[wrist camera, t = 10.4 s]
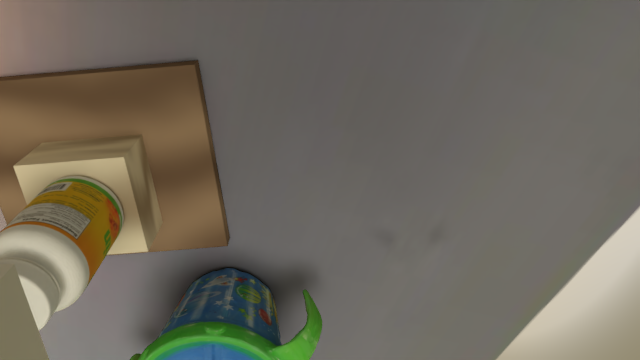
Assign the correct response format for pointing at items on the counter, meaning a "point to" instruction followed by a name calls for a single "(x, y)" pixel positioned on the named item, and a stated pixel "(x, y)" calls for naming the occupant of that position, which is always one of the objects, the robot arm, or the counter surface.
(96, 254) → the supplement bottle
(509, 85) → the counter surface
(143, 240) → the birch block
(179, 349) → the snack cup
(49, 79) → the board
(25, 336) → the robot arm
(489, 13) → the counter surface
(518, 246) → the counter surface
